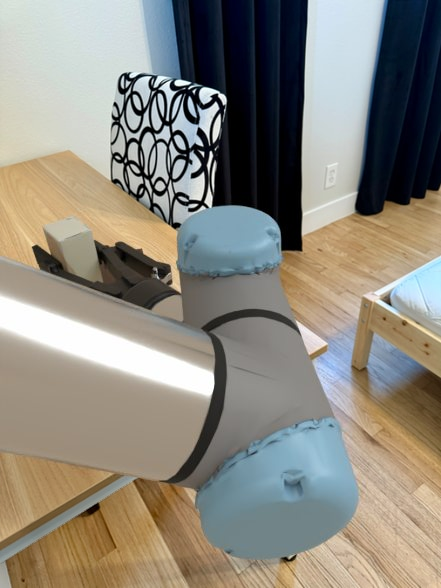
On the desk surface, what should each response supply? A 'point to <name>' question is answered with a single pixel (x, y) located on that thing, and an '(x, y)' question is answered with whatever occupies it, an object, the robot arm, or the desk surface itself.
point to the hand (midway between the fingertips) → (55, 246)
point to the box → (74, 247)
